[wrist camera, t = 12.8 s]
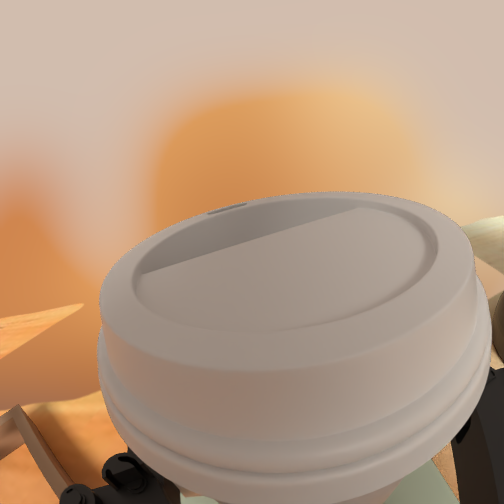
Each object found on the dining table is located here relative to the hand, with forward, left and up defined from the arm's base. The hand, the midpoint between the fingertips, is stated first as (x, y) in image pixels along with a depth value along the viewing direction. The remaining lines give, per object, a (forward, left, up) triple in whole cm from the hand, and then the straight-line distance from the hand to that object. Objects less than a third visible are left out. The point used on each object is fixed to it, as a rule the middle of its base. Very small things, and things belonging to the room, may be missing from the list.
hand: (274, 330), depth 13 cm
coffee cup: (+4, +3, -9) cm, 10 cm away
